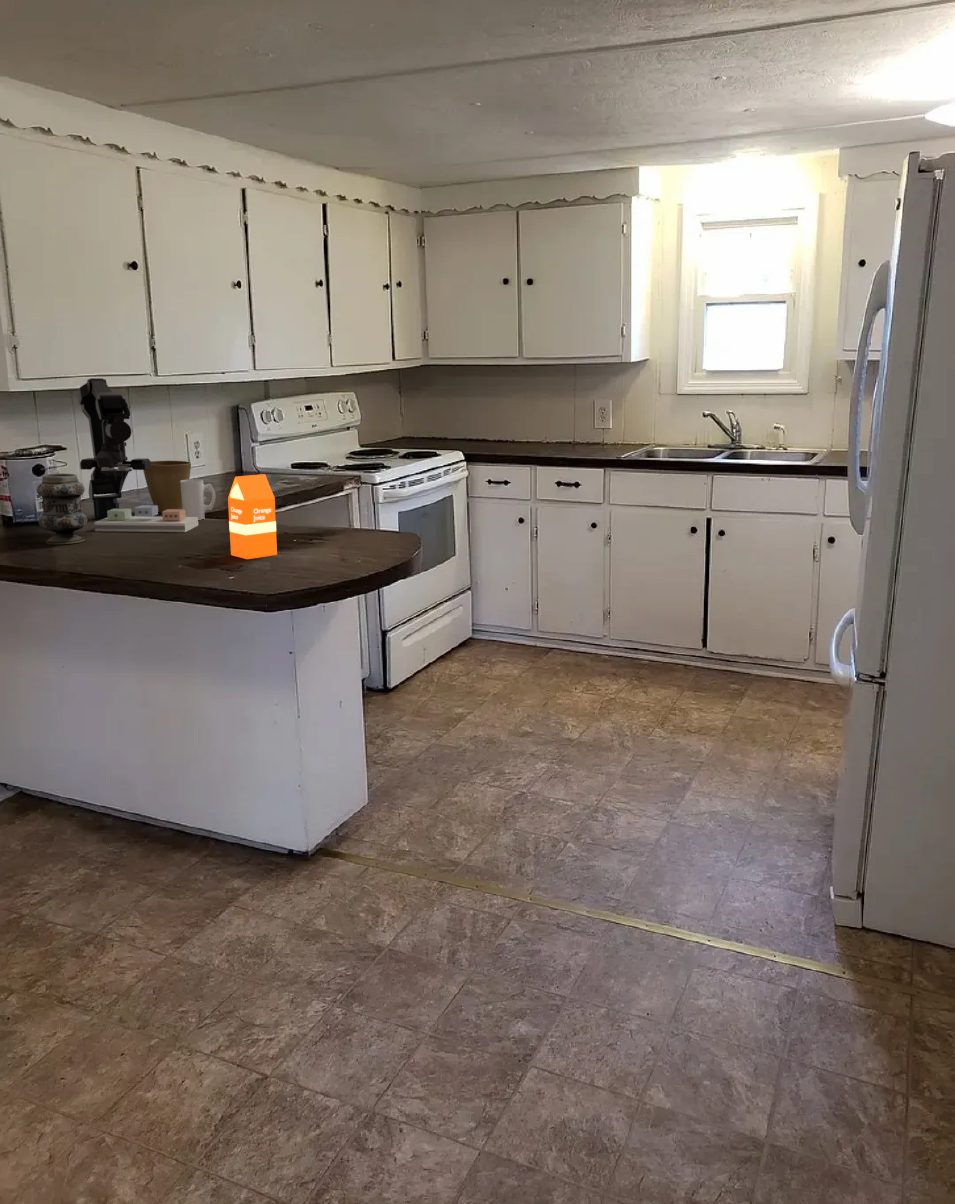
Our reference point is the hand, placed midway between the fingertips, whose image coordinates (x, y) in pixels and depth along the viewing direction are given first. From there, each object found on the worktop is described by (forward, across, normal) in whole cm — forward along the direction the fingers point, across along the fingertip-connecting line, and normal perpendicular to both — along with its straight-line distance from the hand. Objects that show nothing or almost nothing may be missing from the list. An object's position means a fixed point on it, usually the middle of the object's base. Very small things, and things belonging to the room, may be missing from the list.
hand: (118, 494), depth 283 cm
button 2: (+6, +8, 0) cm, 10 cm away
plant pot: (+10, +4, +31) cm, 33 cm away
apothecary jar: (+10, -6, -23) cm, 26 cm away
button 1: (+7, 0, 0) cm, 7 cm away
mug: (+10, +18, +17) cm, 27 cm away
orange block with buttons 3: (+7, +16, 0) cm, 17 cm away
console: (+10, +8, 0) cm, 13 cm away
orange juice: (+10, +49, -38) cm, 63 cm away
